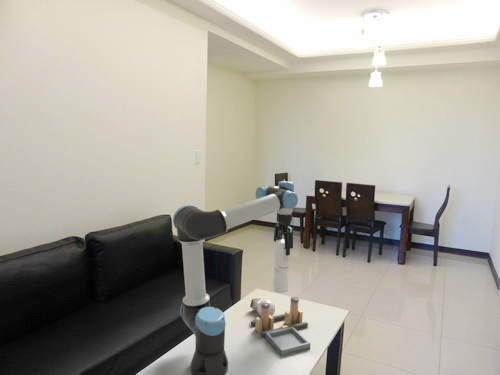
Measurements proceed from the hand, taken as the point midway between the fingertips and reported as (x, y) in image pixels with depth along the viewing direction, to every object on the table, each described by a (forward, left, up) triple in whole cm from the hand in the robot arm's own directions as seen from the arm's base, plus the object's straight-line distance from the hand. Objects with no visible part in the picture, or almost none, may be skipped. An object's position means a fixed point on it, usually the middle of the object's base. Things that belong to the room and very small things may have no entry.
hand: (282, 258), depth 170 cm
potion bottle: (-3, +14, -36) cm, 38 cm away
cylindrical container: (0, 0, -16) cm, 16 cm away
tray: (-4, -14, -35) cm, 38 cm away
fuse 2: (+9, 0, -35) cm, 36 cm away
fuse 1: (-8, 0, -35) cm, 36 cm away
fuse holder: (0, 0, -35) cm, 35 cm away
